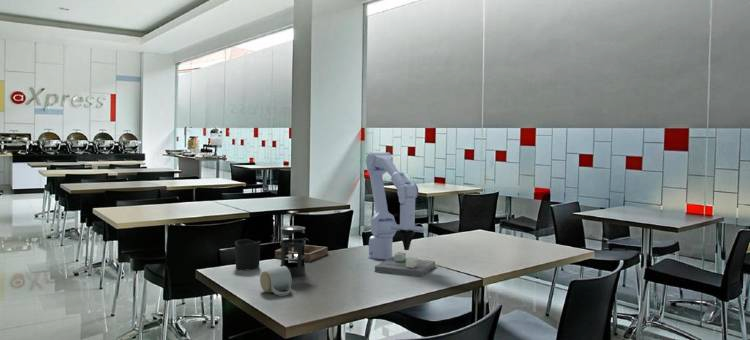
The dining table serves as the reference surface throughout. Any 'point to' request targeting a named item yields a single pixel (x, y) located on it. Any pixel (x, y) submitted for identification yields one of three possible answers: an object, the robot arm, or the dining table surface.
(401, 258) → the sage fader
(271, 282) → the ceramic mug
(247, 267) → the pen holder
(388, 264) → the console
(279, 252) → the tray
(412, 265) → the block
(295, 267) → the french press
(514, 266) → the dining table surface
